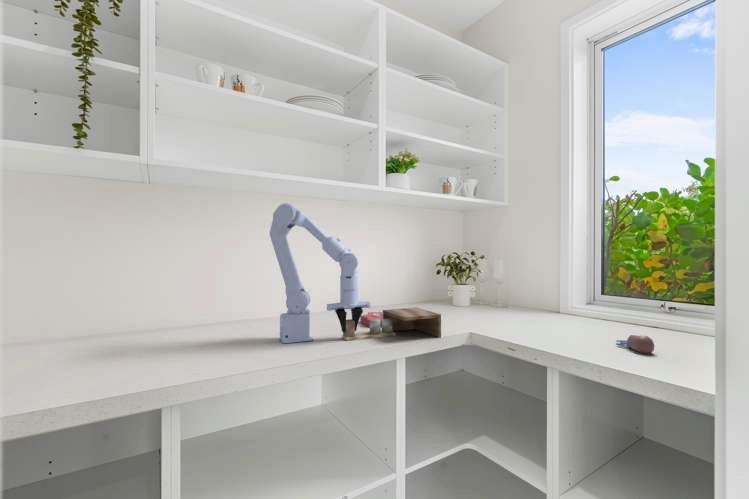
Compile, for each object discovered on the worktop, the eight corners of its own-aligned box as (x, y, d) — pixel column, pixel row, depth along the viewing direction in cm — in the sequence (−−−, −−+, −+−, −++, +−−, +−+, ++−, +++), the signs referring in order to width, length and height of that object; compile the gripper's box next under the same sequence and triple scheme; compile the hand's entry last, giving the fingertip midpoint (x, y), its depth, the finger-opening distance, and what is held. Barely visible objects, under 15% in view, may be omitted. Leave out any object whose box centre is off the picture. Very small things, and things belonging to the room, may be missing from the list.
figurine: (610, 350, 104) (642, 355, 92) (608, 333, 105) (640, 336, 93) (627, 350, 104) (661, 355, 93) (625, 332, 105) (658, 336, 93)
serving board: (347, 340, 109) (346, 322, 109) (342, 337, 113) (342, 319, 113) (395, 335, 116) (395, 317, 116) (389, 332, 120) (389, 315, 120)
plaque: (361, 310, 146) (395, 310, 146) (361, 319, 146) (395, 319, 146) (359, 318, 128) (398, 318, 128) (359, 328, 128) (398, 328, 128)
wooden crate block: (404, 341, 107) (404, 317, 107) (382, 331, 122) (382, 309, 122) (441, 337, 113) (441, 314, 113) (416, 327, 128) (416, 307, 128)
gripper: (331, 291, 105) (331, 335, 105) (373, 289, 111) (374, 331, 111) (325, 289, 112) (325, 331, 111) (365, 287, 117) (365, 327, 117)
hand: (348, 331), depth 111 cm, fingers closed on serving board, 3 cm apart
